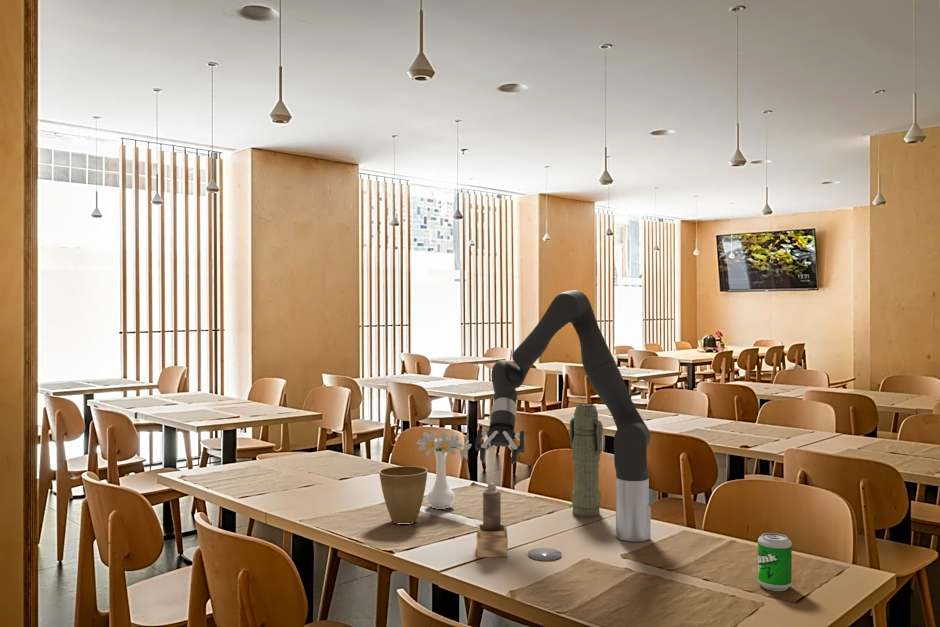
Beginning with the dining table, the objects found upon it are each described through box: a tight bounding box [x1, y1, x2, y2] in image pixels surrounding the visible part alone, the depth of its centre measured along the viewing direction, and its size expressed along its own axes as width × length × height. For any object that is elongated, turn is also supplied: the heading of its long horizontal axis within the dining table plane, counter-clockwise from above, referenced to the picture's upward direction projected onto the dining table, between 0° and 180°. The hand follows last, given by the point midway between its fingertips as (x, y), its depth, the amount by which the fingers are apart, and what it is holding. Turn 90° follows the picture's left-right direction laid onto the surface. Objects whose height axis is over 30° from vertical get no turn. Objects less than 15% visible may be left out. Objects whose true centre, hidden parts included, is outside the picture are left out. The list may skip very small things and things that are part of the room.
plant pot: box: [378, 465, 428, 523], centre depth 244 cm, size 15×15×16 cm
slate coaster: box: [527, 547, 563, 562], centre depth 211 cm, size 9×9×1 cm
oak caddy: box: [476, 523, 509, 558], centre depth 214 cm, size 8×9×6 cm
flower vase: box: [416, 430, 472, 510], centre depth 261 cm, size 13×18×25 cm
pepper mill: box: [482, 482, 502, 531], centre depth 214 cm, size 5×5×14 cm
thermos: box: [569, 403, 604, 518], centre depth 252 cm, size 9×12×35 cm
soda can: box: [757, 532, 793, 592], centre depth 187 cm, size 8×8×12 cm
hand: (497, 462), depth 226 cm, fingers open, 8 cm apart
